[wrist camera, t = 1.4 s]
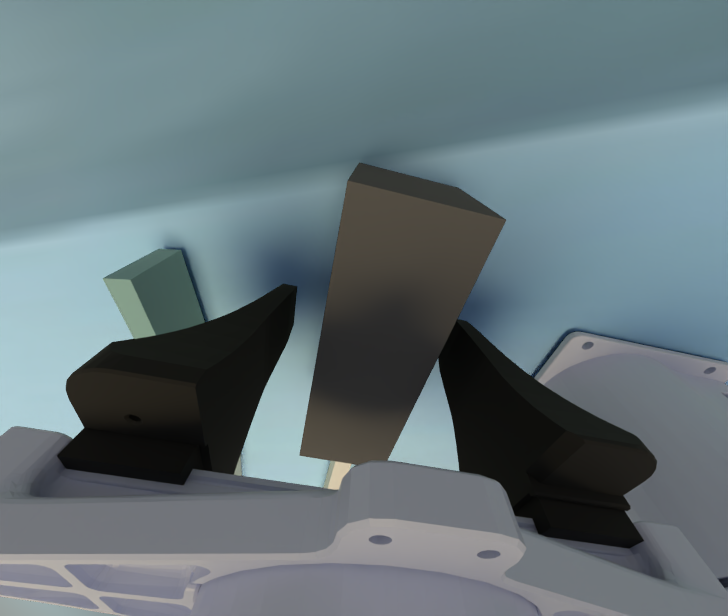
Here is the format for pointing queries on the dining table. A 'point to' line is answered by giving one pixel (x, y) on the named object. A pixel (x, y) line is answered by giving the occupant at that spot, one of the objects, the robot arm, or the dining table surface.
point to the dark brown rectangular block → (390, 307)
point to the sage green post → (155, 294)
